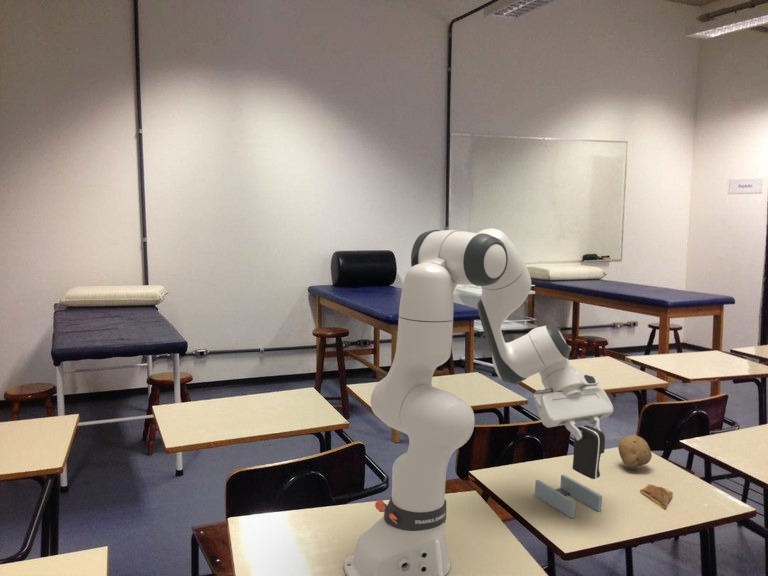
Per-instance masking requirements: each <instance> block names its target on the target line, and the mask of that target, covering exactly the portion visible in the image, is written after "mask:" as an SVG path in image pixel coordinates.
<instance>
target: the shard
mask: <svg viewBox="0 0 768 576" xmlns="http://www.w3.org/2000/svg"><path fill="white" fill-rule="evenodd" d="M639 492H640V494H642V495H644V496H646V497H648V499H649V500H651V501H652V502H653V503H654V504H655V505H657V506H659V507H660V508H662V509H664V510H666V508H667V505H668V502H670V500H671V498H672V497H673V493H674V492H673V491H672V490H669V489H668V488H664V487H662V486H658V485H653V484H651V483H650V484H649V483H648V484H646V486H645V487H644V488H642V489H640V490H639Z"/></svg>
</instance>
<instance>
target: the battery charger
mask: <svg viewBox="0 0 768 576" xmlns="http://www.w3.org/2000/svg"><path fill="white" fill-rule="evenodd" d="M576 427H577V428H578V429H579V430H582V431H583V432H584V434H585V438H584V439H583V440H576V438H575V436H574V435H573V436H574V437H573V451H572V452H573V454H572V455H573V456H572V457H573V460H572V470H573V471H575V472H577V473H579V474H581V475H583V476H585V477H587V478H589V479H591V480H596V479H598V478H600V476H601V472H600V461H601V455H603V454H605V448H606V437H605V433H604V432H603V431H602V430H601V431H599V430H597V429H595V428H593V426H590V425H587V424H586V425H581V426H576Z"/></svg>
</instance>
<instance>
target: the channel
mask: <svg viewBox="0 0 768 576" xmlns="http://www.w3.org/2000/svg"><path fill="white" fill-rule="evenodd" d="M534 485H535V486H534V487H535V488H534V496H536V497H538V498H539V499H540V498H541V500H542V501H544V502H545V501H546V502H545V503H547V504H548V503H549V505H550V506H551V505H552V506H551V507H552V508H554V507H555V508H554V509H556V508H557V509H556V510H557V511H559V510H560V513H562V512H563V513H562V514H563V515H565V514H566V515H565V516H567V515H568V516H569V517H568V516H567V517H568V518H570V517H571V518H570V519H575V518H576V503H577V502H576V501H574V500H573V499H571V498H570V497H568V496H571V497H573V498H574V497H575V498H574V499H576V498H577V499H576V500H578V501H579V500H580V501H579V502H581V501H582V502H581V503H583V504H584V503H585V505H586V504H587V505H586V506H587V507H589V506H590V508H591V507H592V508H591V509H593V510H594V509H595V510H594V511H596V512H602V506H603V505H602V504H603V502H602V501H603V495H602V494H599V492H596V491H594V490H593V489H591V488H590V487H587V486H585V485H584V484H582V483H580V482H578V481H577V480H575V479H573V478H572V477H569V476H567V475H566V474H561V475H560V487H558V488H553V487H551V486H550V485H548V484H547V483H544V481H541V480H539V479H536V480H535V484H534ZM567 495H568V496H567Z"/></svg>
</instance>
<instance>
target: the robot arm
mask: <svg viewBox="0 0 768 576" xmlns="http://www.w3.org/2000/svg"><path fill="white" fill-rule="evenodd" d="M410 264H411V267H410V268H409V269H408V270H407V271H406V273H405V275H404V276H405V277H404V279H403V284H402V288H401V293H400V294H401V295H400V299H399V300H400V301H399V306H398V307H399V310H398V322H397V323H398V325H397V334H396V335H397V336H396V338H397V339H396V348H395V354H394V357H393V361H392V364H391V366H390V368H389V370H388V373H387V375H386V376H385V377H383V378H382V379H381V380H379V381H378V383H377V384H376V385H375V386H374V388H373V390H372V393H371V394H370V395H371V396H370V408H371V410H372V412H373V414H374V415H375V417H377V418H378V419H379V420H380V421H381V422H382V423H384V424H385V425H386V426H388V427H389V428H391V429H393V430H396V431H398V432H400V433H403V434H406V435H407V436H408V441H409V443H408V449H407V452H404V453H402V454H401V455H399V456H398V457H397V458H396V459H395V461H394V462H393V464H392V480H391V481H392V482H391V485H392V486H391V496H390V498H389V501H388V503H385V502H384V501H383V500H382V499H377V500H376V501H375V502H374V503H375V504H374V506H375V508H376V510H378V512H380V513H383V516H382V517H381V518H380V519H379V520H378V521H377V522H375V523H374V524H373V525H372V526H371V527H370V528H369V529H367V530H366V531H365V532H364V533H363V534H361V535H360V536H359V538H358V539H357V542H356V546H355V551H354V553H353V554H350V555H348V556H347V557H345V559H344V563H343V571H344V574H345V575H346V576H446V575H447V574H448V573H449V571H450V569H451V561H450V557H449V553H448V547H447V540H446V528H445V527H446V526H445V525H446V520H447V500H446V497H445V496H446V477H447V471H448V465H449V462H450V459H451V457H452V456H453V454H454V452H455V451H456V450H457V449H460V448H461V447H463V446H464V445H465V444H467V442H468V441H469V440H470V439H471V436H472V435H473V432H474V430H475V429H474V428H475V423H476V422H475V413H474V410H473V408H472V406H471V405H470V404H468V403H467V402H466V401H464V400H463V399H462V398H461V397H459V396H457V395H456V394H454V393H452V392H449V391H446V390H444V389H440V388H437V387H435V386H432V385H433V384H432V381H433V376H434V373H435V371H436V369H437V368H438V367H440V366H442V365H443V364H445V363H446V362H448V360H449V359H450V357H451V355H452V345H453V329H454V328H453V327H454V306H455V305H454V291H455V289H456V287H457V285H467V286H469V285H472V286H473V285H474V286H476V287H481V297H480V299H479V300H478V302H477V306H476V307H477V312H478V316H479V319H480V323H481V326H482V330H483V333H484V336H485V339H486V341H487V344H488V346H489V349H490V353H491V355H492V356H491V358H492V360H491V361H492V366H493V368H494V371H495V373H496V374H497V375H496V376H497V377H498V378H499V379H500V380H501V381H502V382H504V383H506V384H510V385H515V386H516V385H518V384H520V383H521V382H524V381H525V380H526V379H527V380H528V378H529V377H531V376H534V375H536V374H538V373H539V376H540V379H541V383H542V385H543V388H544V389H538V390H535V392H534V393H533V396H532V399H533V400H534V403H535V405H536V409H537V412H538V416H539V418H540V421H541V423H542V425H543V426H544V427H546V428H553V427H559V426H565V428H566V430H568V432H570V433H571V434H572V435H573V436H575V438H576V440H583V439H584V438H585V434H584V432H583V431H582V430H579V429H578V428H577V427H578V426H576V425H575V424H578V423H583V422H588V423H589V424H590V425H592V426H591V427H593V428H595V429H597V430H599V431H601V432H602V430H601V428H600V420H602V419H606V418H608V417H609V416H610V415H612V414H613V413H614V405H613V404H612V402H611V400H610V398H609V396H608V394H607V393H606V391H605V390H604V388H603V387H602V386H600V385H599V383H600V381H599V379H598V378H597V377H596V376H594V375H592V374H591V375H590V374H586V373H583V372H580V371H577V370H576V369H575V367H574V366H573V365H572V363H571V362H570V360H569V358H570V354H571V347H570V346H569V345H568V344H567V342H566V339H565V338H564V334H563V333H562V330H561V329H560V328H558V327H556V326H553V325H549V324H545V325H543V326H537V327H534V328H533V329H531V330H530V331H529V332H528V333H526V334H524V335H522V336H520V337H518V338H515V339H513V340H512V341H509V342H506V340H505V338H504V335H503V332H502V325H503V324H504V322H505V321H506V320H507V319H508V318H509V316H511V314H513V313H514V312H515V311H516V310H517V309H518V308H519V307H521V306H522V304H524V302H525V301H526V299H527V298H528V296H529V293H530V291H531V288H532V278H531V275H530V274H531V273H530V271H529V269H528V266H527V264H526V262H525V261H524V259H523V257H522V255H521V253H520V252H519V250H518V248H517V247H516V246H515V245H514V242H512V241H511V239H510V238H509V237H508V236H507V235H506V233H504V232H503V231H502V230H500V229H498V228H494V227H493V228H491V227H490V228H484V229H482V230H481V229H480V230H479V231H478V232H471V231H465V230H462V229H446V230H440V229H431V230H428V231H423V233H421V234H419V235H418V236H417V238H416V239H415V241H414V243H413V246H412V250H411V253H410Z"/></svg>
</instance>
